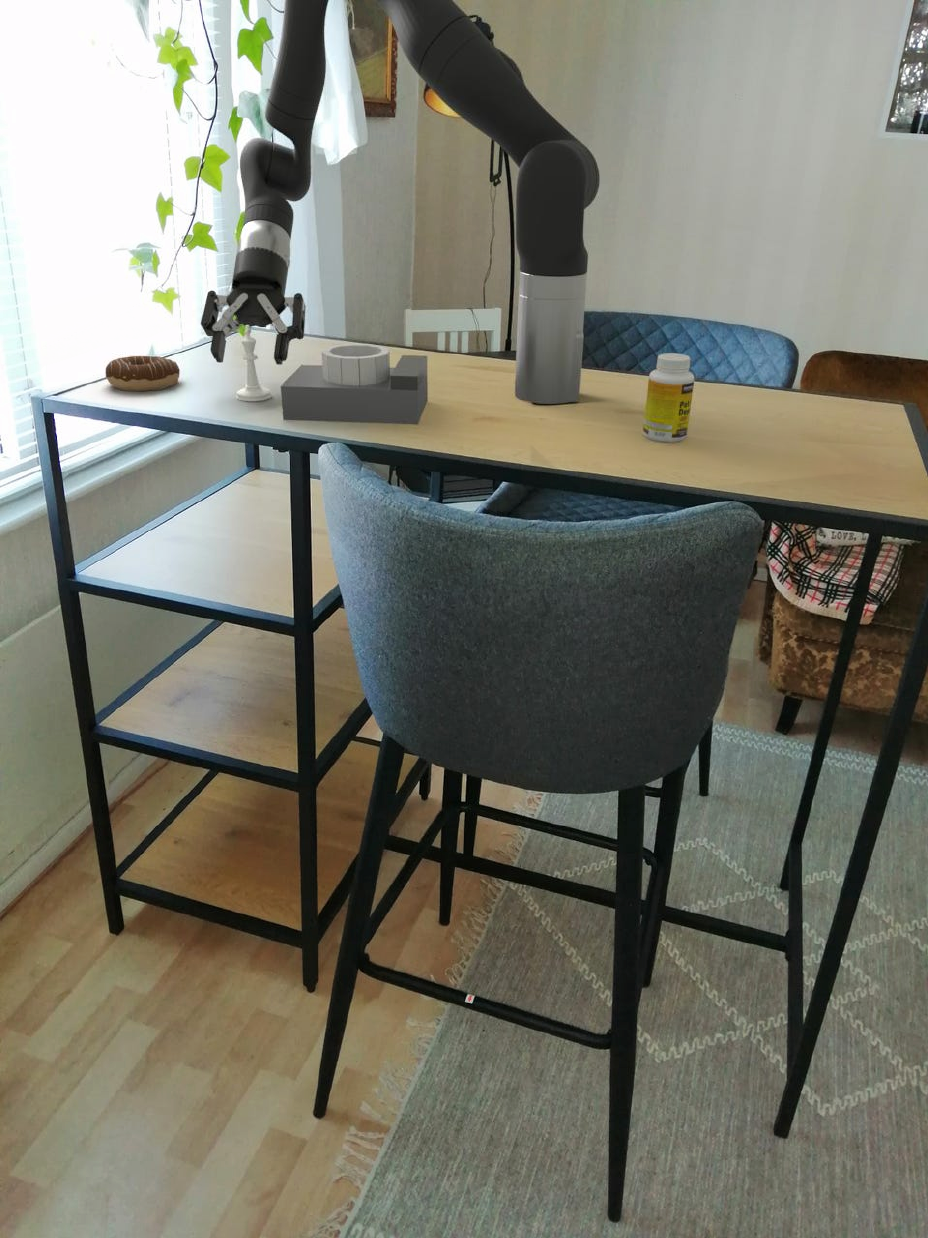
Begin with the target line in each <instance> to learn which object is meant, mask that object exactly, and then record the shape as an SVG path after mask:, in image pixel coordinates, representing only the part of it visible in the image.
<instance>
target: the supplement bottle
mask: <svg viewBox="0 0 928 1238" xmlns="http://www.w3.org/2000/svg"><path fill="white" fill-rule="evenodd" d="M690 368H691V357H690V355H688V354H683V353H677V352H676V353H675V352H673V353H672V352H671V353H669V352H667V353H661V354H658V356H657V361H656V369H653V370H652V371H650V373H649V376H648V383H647V391H646V392H647V393H646V403H645V412H644V420H643V427H642V428H643V429H642V430H643V433H642V434H643V435H644V437H646V438H647V439H649V440H651V441H654V442H658V443H678V442H681V441H683V440H685V439H686V437H687V435H688V429H689V423H690V415H691V409H692V408H691V406H692V400H693V392H694V386H695V385H694V384H695V375H694V374H693V372H691V371H690Z"/></svg>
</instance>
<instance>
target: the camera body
mask: <svg viewBox="0 0 928 1238" xmlns="http://www.w3.org/2000/svg"><path fill="white" fill-rule="evenodd" d="M390 358H391V357H390V349H389V348H387V347H385V346H383V345H376V344H371V343H347V344H346V343H345V344H337V345H331V346H327V347H325V348H324V349H323V350H322V351H321V365H319V364H317V365H316V364H315V365H313V364H301V365H299V367H298V368H297V369H296V370H295V371H294V372H293V373H292V374H291V375H290V376H289V377H288V378H287V379H286V380H285V381H284V382H283V383H282V384H281V385H280V393H281V404H282V405H281V407H282V417H283V419H282V420H283V421H301V422H302V421H303V422H305V421H306V422H307V421H308V422H310V421H311V422H332V423H333V422H335V423H339V422H340V423H365V424H391V425H392V424H393V425H397V424H398V425H419V422H420V420H421V417H422V415H423V413H424V410H425V408H426V405H427V403H428V401H429V400H428V399H429V398H428V394H429V393H428V389H429V388H428V355H418V354H417V355H413V354H402V356H401V357H400V359H399V360H398V362H397V363H396V366H395V367H391V359H390Z"/></svg>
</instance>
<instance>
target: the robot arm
mask: <svg viewBox="0 0 928 1238" xmlns="http://www.w3.org/2000/svg"><path fill="white" fill-rule="evenodd" d="M374 2H376V3H377V4H378V5H379V7H380V8H381V9H382V10H383V11H384V13H385V14H386V16H387V18H388V19H389V20H390V22H391V24H392V27H393V29H394V31H395V33H396V36H397V39H398V41H399V44H400V46H401V48H402V51H403V53H404V55H405V57H406V59H407V60H408V62H409V64H410V65H411V66H412V68H413V69H414V71H415V72H416V73H417V75H418V76H419V77H420V78H421V79H422V81H424V82H425V84H426V85H427V86H428V87H429V88H430V89H431V90H432V92H434V94H435V95H436V96H437V97H438V98H439V99H440V100H441V101H442V102H443V103H444V104H445V105H446V106H447V107H448V108H449V109H450V110H452V111H453V112H454V113H456V114H457V115H458V116H459V117H461V118H462V119H463V120H464V121H465V122H467V123H469V124H470V125H471V126H473V128H474V127H475V129H477V130H479V131H480V132H481V133H483V134H484V135H486V136H487V137H489V138H490V139H491V140H493V142H495V143H496V144H497V145H498V146H500V148H501V149H503V151H504V152H505V153H506V154H507V155H508V156H509V157H510V158H511V160H512V162H514V163H515V164H516V165H517V167H518V168H519V170H518V174H517V175H518V176H517V180H516V192H515V193H516V194H515V196H516V200H515V242H516V243H515V245H516V249H517V253H518V256H519V281H518V283H519V284H518V306H517V307H518V309H517V330H516V331H517V332H516V334H517V335H516V354H515V356H516V357H515V360H516V361H515V379H514V382H515V383H514V387H515V388H514V396H515V397H516V398H517V399H519V400H521V401H524V402H529V403H534V404H542V405H554V404H555V405H556V404H557V405H558V404H566V403H579V401H580V392H581V391H580V389H581V378H582V375H581V374H582V362H583V349H584V331H583V330H584V319H585V318H584V317H585V302H586V289H587V288H586V287H587V276H588V275H587V274H588V273H587V272H588V261H589V254H588V251H587V249H586V246H585V243H584V220H585V219H584V217H585V209H587V208H588V207H589V206H590V205H591V204H592V203H593V202H594V201H595V199H596V197H597V195H598V191H599V188H600V180H601V179H600V169H599V166H598V162H597V160H596V158H595V157H594V154H593V153H592V152H591V151H590V149H589V148H588V147H587V146H586V145H585V144H584V143H583V142H581V141H580V140H579V139H578V138H577V137H575V136H574V134H573V133H571V132H570V131H569V130H568V129H566V128H565V126H563V125H562V124H561V123H560V122H559V121H558V120H557V119H556V118H555V117H554V116H552V115H551V114H550V113H549V111H547V110H546V109H545V108H544V107H543V106H542V105H541V103H540V102H539V101H538V100H537V99H536V98H535V97H534V96H533V94H532V93H531V92H530V91H529V89H528V88H527V86H526V85H525V84H524V82H523V81H522V80H521V79H520V77H519V76H518V74H517V73H516V72H515V70H514V69H513V68H512V67H511V66H510V64H509V63H508V62H507V61H506V60H505V59H504V57H503V56H502V54H500V52H499V51H498V50H497V48H495V46H494V45H493V44H492V43H491V41H490V40H489V38H488V37H487V36H486V35H485V34H484V33H483V32H482V31H481V30H480V29H479V27H478V26H477V25H476V23H475V22H473V20H472V19H471V18H470V17H469V16H468V15H467V14H466V12H464V11H463V9H461V7H459V6H458V4H457V3H456V2H455V1H454V0H374ZM328 3H329V0H284V8H283V17H282V25H281V26H282V28H281V35H280V36H281V37H280V42H279V47H278V52H277V57H276V60H275V61H276V62H275V67H274V70H273V73H272V74H273V75H272V79H271V83H270V88H269V93H268V96H267V100H266V104H265V111H264V117H265V118H264V119H265V120H266V122H267V123H268V124H269V126H271V128H273V129H274V130H275V131H277V132H279V133H281V135H283V136H285V137H286V138H287V139H289V140H290V141H291V143H292V145H293V147H294V148H290V147H287V146H285V145H282V144H278V143H277V142H273V141H271V140H268V139H265V138H261V137H254V138H251V139H250V140H248V141H247V142H246V143H245V145H244V146H243V148H242V150H241V153H240V156H239V157H240V159H239V171H240V178H241V179H240V180H241V183H242V189H243V196H244V205H245V206H244V216H243V222H242V230H241V232H240V236H239V238H238V243H237V249H236V253H235V254H236V255H235V260H234V261H235V262H234V266H233V274H232V280H231V289H230V291H229V293H228V294H227V295H222V294H221V295H220V294H217V292H216V291H214V290H209V291H208V292H207V294H206V295H207V296H206V298H205V304H204V308H203V311H202V315H201V319H200V320H201V321H200V325H201V327H202V329H203V331H204V333H205V335H206V336H207V337H212V338H211V344H210V352H211V355H212V357H213V359H215V361H216V363H224V357H225V352H226V351H225V350H226V345H227V340H226V339H227V338H228V337H229V336H230V335H231V334H232V333H236V332H237V331H238V330H239V329H240V328H242V327H243V326H244V327H245V325H249V328H252V327H259V328H267V326H269V325H271V326H272V328H273V330H274V331H275V332H276V336H275V345H274V350H273V351H274V352H273V359H274V361H275V364H276V365H277V366H278V365H283V362H286V361H287V359H288V354H289V347H290V342H291V341H292V340H295V339H298V340H302V339H303V338H305V326H306V324H305V323H306V311H307V310H306V307H307V306H306V303H305V300H304V298H303V295H302V293H299V292H297V293H295V294H294V295H293V296H291V297H286V296H285V295H286V289H287V283H288V282H287V281H288V273H289V268H290V266H291V265H290V264H291V260H290V258H291V239H292V232H293V231H292V230H293V227H294V226H293V225H294V209H293V207H292V205H291V204H290V203H289V201H290V202H298V201H301V200H302V199H303V198H305V197H306V195H307V194H308V192H309V190H310V187H311V182H312V157H311V156H312V155H311V154H312V153H311V152H312V137H313V130H314V125H315V121H316V117H317V114H318V110H319V107H320V102H321V98H322V95H323V91H324V87H325V82H326V70H327V58H326V45H325V44H326V43H325V25H326V24H325V23H326V16H327V15H326V13H327V9H328ZM225 306H228V308H227V309H225V311H224V312H223V309H224V307H225ZM287 308H288V309H289V310H290V313H291V314H292V316H291V317H292V318H291V319H292V320H291V325H288V326H287V325H286V323H284V321H283V320H282V318H281V317H280V316H281V314H282V313H284V311H285V310H286V309H287ZM220 313H222V315H221V318H220V319H219V320H218V318H219V314H220ZM234 317H235V319H234Z"/></svg>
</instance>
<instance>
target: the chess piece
mask: <svg viewBox="0 0 928 1238" xmlns="http://www.w3.org/2000/svg"><path fill="white" fill-rule="evenodd" d="M244 328H245V330H244V335H245V336H246V337H244V338H242V339H241V344H242V346H243V348H244V351H245V354H244V355H242V359H243V360H246V363H247V365H246V367H247V368H246V369H247V370H246V371H247V372H246V384H244V388H241V389H238V391H236V399H237V400H239V401H241V402H242V401H243V402H261V401H267V400H268V399H271V398H272V393H271V390H270V389H268V388H267V387H263V386H262V384H261V383H259V378H258V375H257V370H256V365H255V360H258V359H259V356H258V355H257V354H255V353H254V351H255V348H256V345H257V344H256V343H257V339H255V338H254V337H251V333H252V328H251V327H249V325H245V326H244Z"/></svg>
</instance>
